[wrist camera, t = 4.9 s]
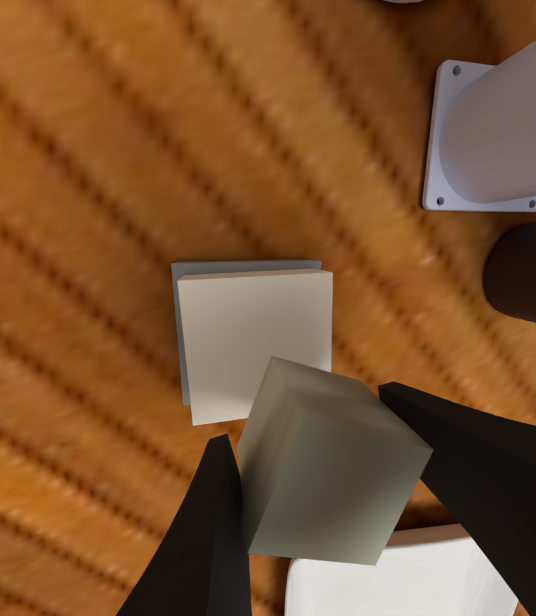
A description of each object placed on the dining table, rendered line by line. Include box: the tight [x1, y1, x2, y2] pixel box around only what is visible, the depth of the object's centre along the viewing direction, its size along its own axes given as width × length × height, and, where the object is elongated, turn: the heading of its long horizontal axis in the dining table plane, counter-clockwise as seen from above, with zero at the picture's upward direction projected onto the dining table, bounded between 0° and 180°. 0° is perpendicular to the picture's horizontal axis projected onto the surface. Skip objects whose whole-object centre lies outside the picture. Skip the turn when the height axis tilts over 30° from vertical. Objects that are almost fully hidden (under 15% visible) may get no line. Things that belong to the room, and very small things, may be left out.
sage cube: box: [237, 356, 434, 566], centre depth 9 cm, size 4×4×4 cm
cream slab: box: [178, 268, 333, 426], centre depth 14 cm, size 7×7×2 cm
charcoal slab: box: [171, 259, 322, 406], centre depth 17 cm, size 8×8×2 cm
